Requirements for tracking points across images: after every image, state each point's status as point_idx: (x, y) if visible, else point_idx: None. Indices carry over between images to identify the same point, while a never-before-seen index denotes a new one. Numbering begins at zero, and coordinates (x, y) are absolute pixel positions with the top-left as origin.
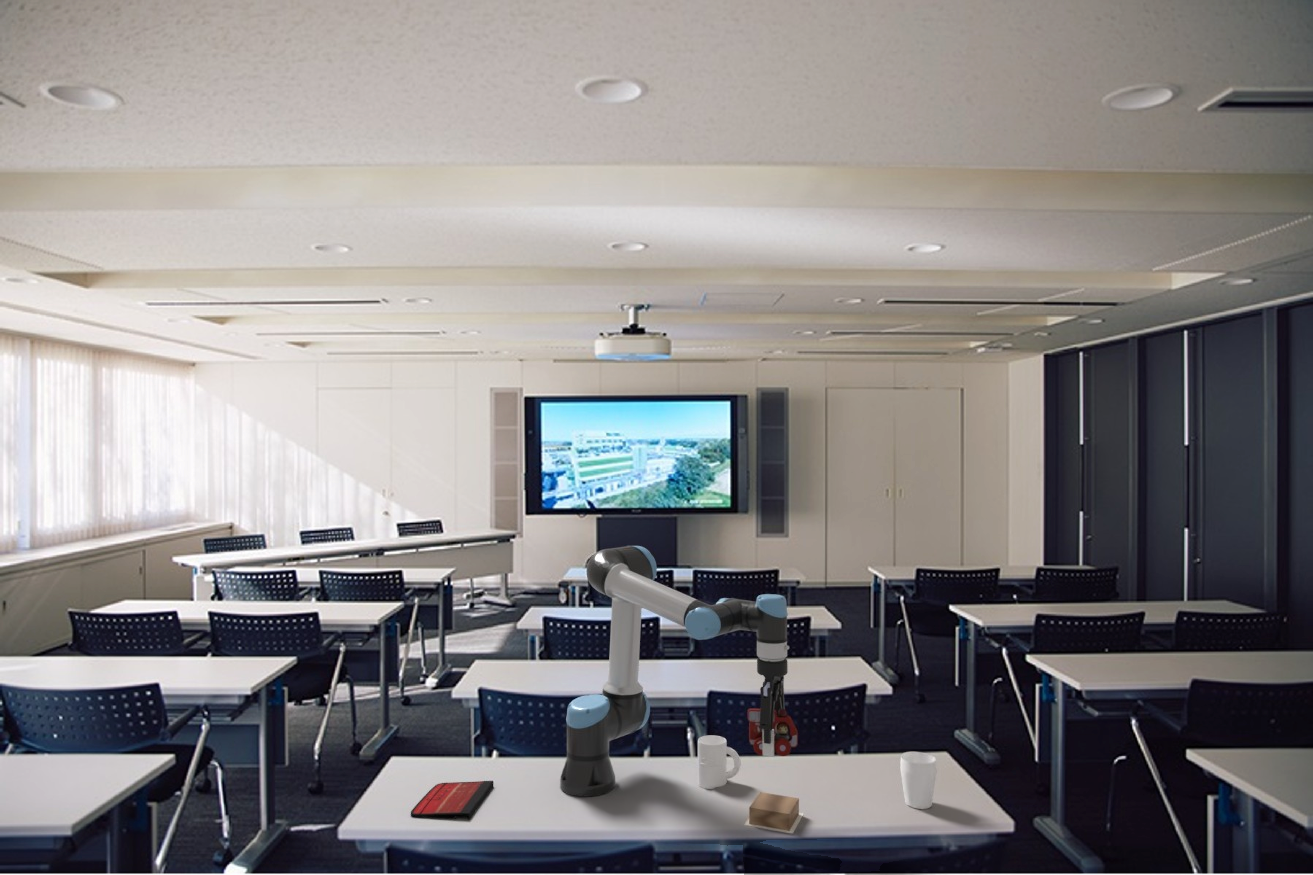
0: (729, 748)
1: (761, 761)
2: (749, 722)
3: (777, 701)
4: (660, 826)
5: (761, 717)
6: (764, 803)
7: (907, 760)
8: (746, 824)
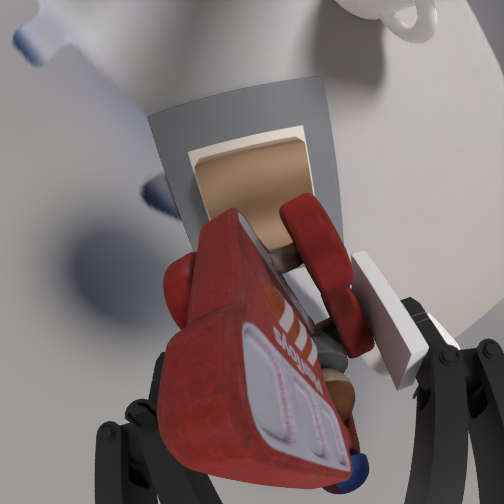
0: (429, 8)
1: (488, 69)
2: (203, 310)
3: (410, 497)
4: (88, 28)
5: (100, 484)
6: (241, 186)
7: (457, 345)
8: (192, 155)
